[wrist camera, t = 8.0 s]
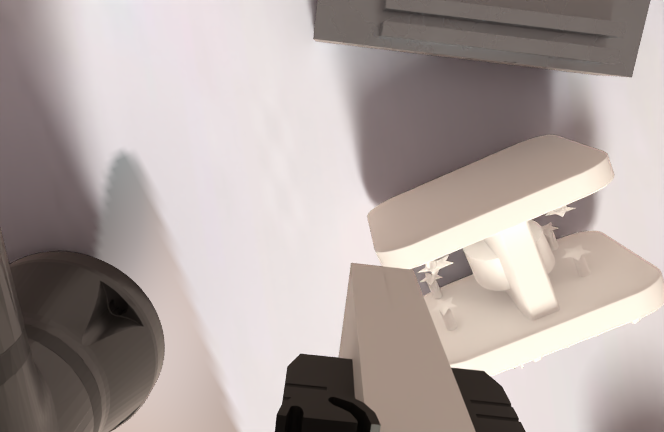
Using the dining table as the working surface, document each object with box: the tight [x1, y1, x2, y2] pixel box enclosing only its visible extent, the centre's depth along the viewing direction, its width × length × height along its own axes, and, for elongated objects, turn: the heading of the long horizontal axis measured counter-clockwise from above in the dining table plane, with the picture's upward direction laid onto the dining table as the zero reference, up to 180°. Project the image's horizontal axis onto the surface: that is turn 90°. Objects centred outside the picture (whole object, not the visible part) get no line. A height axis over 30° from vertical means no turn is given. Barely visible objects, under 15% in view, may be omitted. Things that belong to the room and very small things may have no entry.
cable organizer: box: [367, 135, 664, 377], centre depth 39 cm, size 15×11×12 cm
